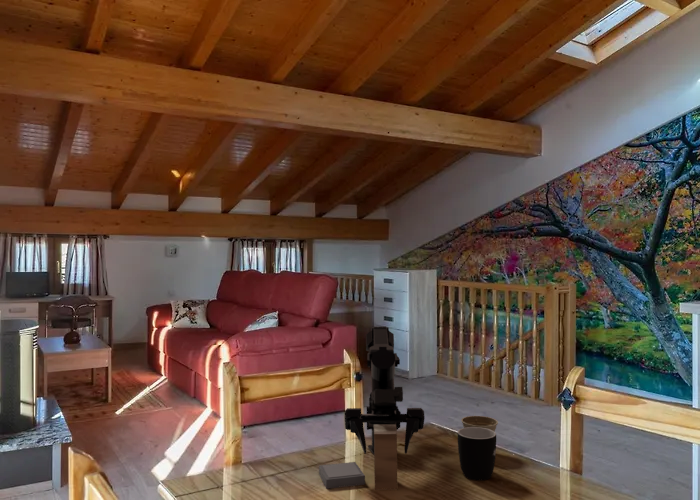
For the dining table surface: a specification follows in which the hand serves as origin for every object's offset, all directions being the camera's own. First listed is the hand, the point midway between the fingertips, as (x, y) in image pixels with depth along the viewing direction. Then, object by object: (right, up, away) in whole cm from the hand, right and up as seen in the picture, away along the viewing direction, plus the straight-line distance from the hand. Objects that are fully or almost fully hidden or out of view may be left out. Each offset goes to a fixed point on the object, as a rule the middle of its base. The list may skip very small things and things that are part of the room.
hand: (385, 452), depth 130 cm
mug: (+22, -8, +7) cm, 24 cm away
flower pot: (+26, -8, +20) cm, 34 cm away
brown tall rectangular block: (0, -8, 0) cm, 8 cm away
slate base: (-10, -8, +4) cm, 13 cm away
